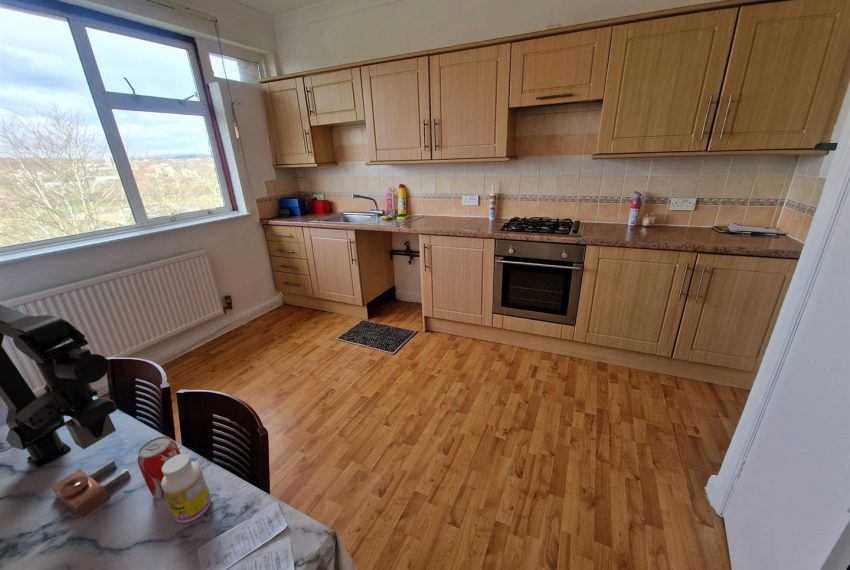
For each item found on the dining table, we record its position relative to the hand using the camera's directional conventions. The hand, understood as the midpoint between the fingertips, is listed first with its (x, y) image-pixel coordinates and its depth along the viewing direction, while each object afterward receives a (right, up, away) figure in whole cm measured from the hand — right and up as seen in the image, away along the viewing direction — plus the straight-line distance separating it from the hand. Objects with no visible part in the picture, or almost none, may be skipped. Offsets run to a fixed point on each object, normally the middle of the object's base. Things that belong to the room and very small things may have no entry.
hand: (94, 433), depth 79 cm
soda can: (+18, -12, -1) cm, 22 cm away
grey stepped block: (0, -1, 0) cm, 1 cm away
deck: (0, -12, 0) cm, 12 cm away
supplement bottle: (+27, -13, -6) cm, 30 cm away
